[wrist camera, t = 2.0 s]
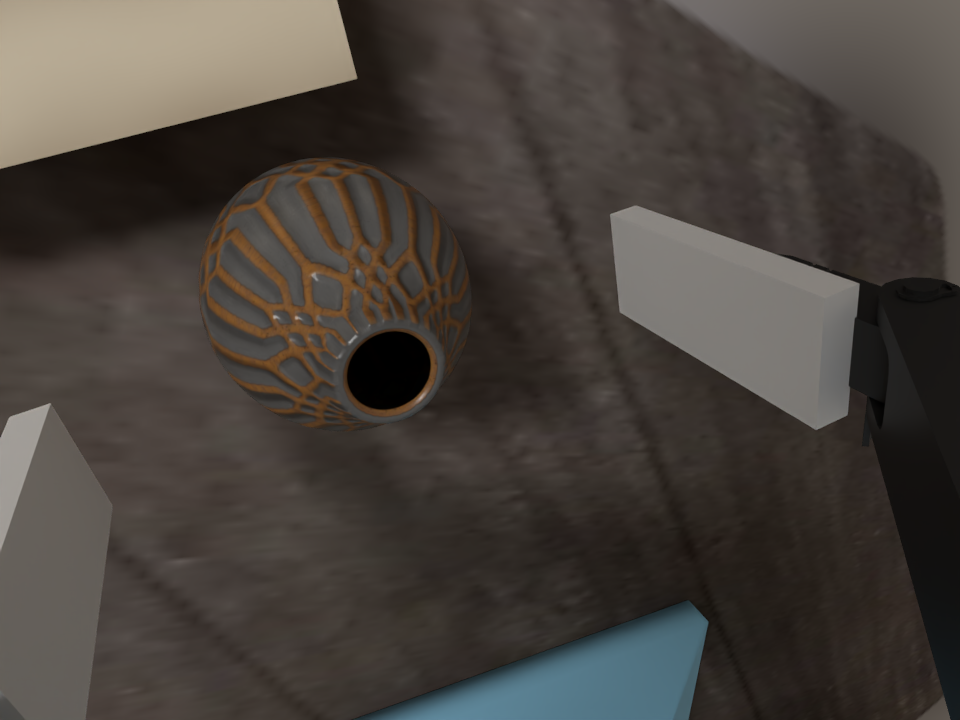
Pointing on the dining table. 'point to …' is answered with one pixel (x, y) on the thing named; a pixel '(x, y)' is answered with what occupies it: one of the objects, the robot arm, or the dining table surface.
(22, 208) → the dining table surface
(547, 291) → the dining table surface
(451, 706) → the vase
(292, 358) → the vase
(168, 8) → the stepped riser
